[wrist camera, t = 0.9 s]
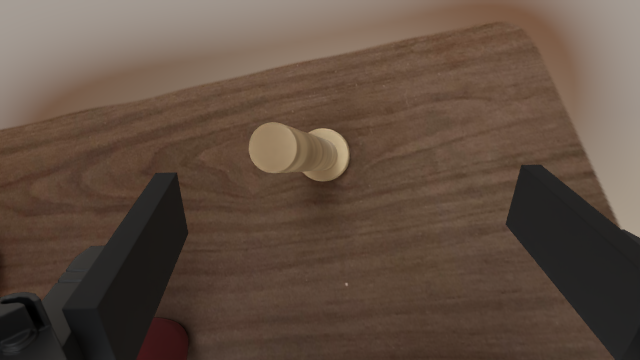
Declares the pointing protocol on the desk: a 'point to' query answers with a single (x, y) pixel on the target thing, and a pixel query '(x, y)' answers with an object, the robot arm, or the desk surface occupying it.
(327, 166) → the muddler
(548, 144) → the desk surface
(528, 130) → the desk surface
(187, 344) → the mug
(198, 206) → the desk surface
